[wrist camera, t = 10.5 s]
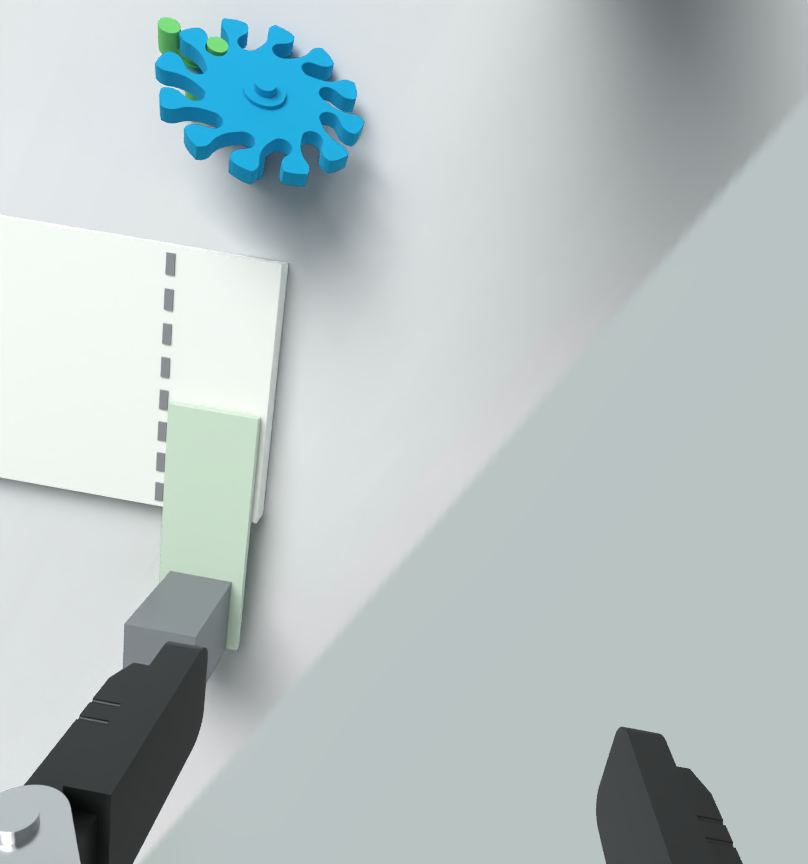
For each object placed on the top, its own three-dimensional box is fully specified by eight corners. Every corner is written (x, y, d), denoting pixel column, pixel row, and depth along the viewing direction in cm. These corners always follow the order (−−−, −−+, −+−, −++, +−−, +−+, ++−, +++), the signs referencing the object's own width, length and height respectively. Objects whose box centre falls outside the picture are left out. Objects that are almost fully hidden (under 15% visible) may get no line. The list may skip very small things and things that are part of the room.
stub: (172, 401, 39) (117, 432, 33) (261, 416, 39) (222, 451, 33) (160, 630, 44) (109, 696, 38) (239, 645, 44) (202, 714, 37)
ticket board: (-110, 196, 39) (-133, 194, 37) (288, 263, 38) (281, 264, 37) (-92, 450, 44) (-112, 457, 42) (263, 513, 43) (256, 524, 41)
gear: (405, 105, 34) (276, 201, 29) (375, 186, 39) (261, 280, 34) (241, -31, 34) (85, 41, 29) (232, 68, 39) (99, 144, 34)
